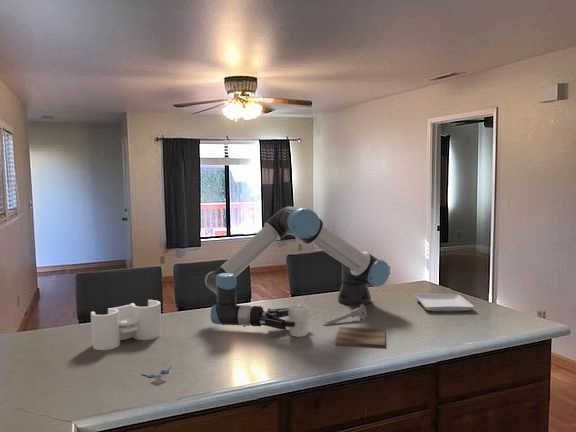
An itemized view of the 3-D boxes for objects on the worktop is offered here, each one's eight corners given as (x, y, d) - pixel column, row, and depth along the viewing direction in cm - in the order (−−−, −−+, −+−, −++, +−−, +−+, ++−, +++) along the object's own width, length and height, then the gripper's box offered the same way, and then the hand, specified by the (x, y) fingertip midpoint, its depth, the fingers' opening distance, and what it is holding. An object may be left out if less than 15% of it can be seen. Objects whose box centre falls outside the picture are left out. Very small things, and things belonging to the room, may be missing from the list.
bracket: (99, 352, 164) (98, 317, 163) (88, 345, 171) (87, 311, 170) (166, 335, 181) (165, 303, 180) (154, 329, 188) (152, 298, 187)
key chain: (164, 386, 138) (164, 383, 138) (135, 387, 137) (134, 385, 137) (172, 367, 152) (172, 364, 152) (145, 368, 151) (145, 365, 151)
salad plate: (475, 313, 206) (475, 305, 205) (424, 314, 206) (425, 306, 206) (458, 300, 227) (458, 293, 226) (412, 301, 227) (412, 293, 227)
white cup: (294, 338, 176) (294, 311, 175) (284, 332, 183) (284, 306, 182) (313, 335, 179) (313, 308, 178) (302, 329, 186) (302, 303, 185)
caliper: (364, 318, 201) (364, 303, 200) (366, 318, 200) (366, 303, 199) (322, 325, 191) (322, 310, 191) (324, 326, 190) (324, 310, 190)
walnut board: (339, 329, 186) (339, 326, 186) (384, 331, 182) (384, 329, 182) (335, 344, 169) (335, 342, 169) (385, 347, 166) (385, 344, 166)
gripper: (259, 316, 196) (311, 318, 192) (242, 336, 172) (301, 339, 168) (259, 297, 196) (311, 299, 192) (242, 315, 171) (301, 318, 167)
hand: (307, 318), depth 180 cm, fingers open, 13 cm apart
